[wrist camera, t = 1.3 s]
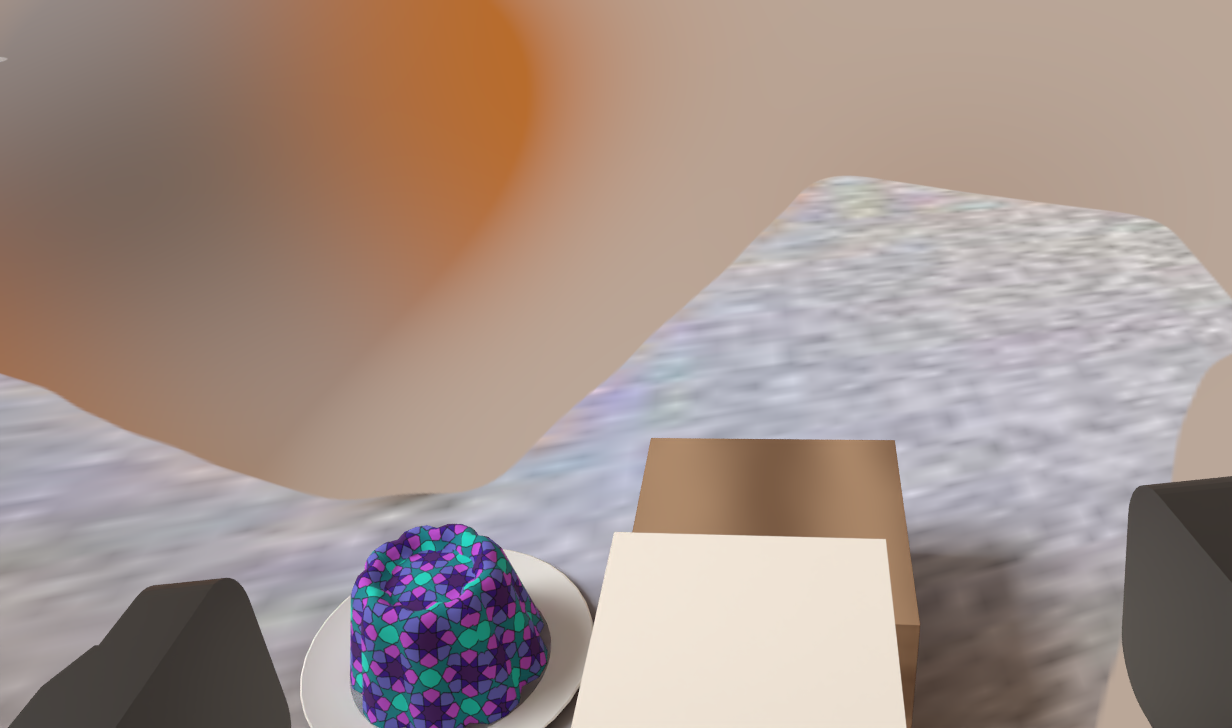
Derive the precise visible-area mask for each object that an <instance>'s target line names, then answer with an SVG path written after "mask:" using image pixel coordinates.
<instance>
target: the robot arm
mask: <svg viewBox="0 0 1232 728" xmlns="http://www.w3.org/2000/svg"><path fill="white" fill-rule="evenodd" d="M1122 644H1123V652H1124V658H1125V664H1126V668H1127V672H1128V676H1129V679H1130V682H1131V686H1132V688H1133V691H1134V694H1135V696H1136V698H1137V701H1138V703H1139V705H1140V707H1141V709H1142V710H1143V712H1144V714H1145V716H1146V717H1147V719H1148V721H1149V722H1150V724H1151V726H1152V728H1232V476H1230V477H1221V478H1210V479H1202V480H1191V481H1181V482H1172V483H1162V484H1152V485H1143V486H1139V487H1138V488H1136V489H1135V491H1134V492H1133V494H1132V497H1131V500H1130V504H1129V513H1128V529H1127V547H1126V565H1125V583H1124V602H1123V620H1122ZM8 728H291V720H290V713H289V708H288V704H287V701H286V698H285V695H284V693H283V690H282V687H281V685H280V682H279V679H278V676H277V674H276V671H275V668H274V666H273V663H272V660H271V657H270V655H269V652H268V649H267V646H266V644H265V641H264V638H263V636H262V633H261V630H260V627H259V625H258V622H257V619H256V617H255V614H254V611H253V608H252V606H251V603H250V600H249V598H248V596H247V593H246V592H245V590H244V588H243V587H242V586H241V585H240V584H239V583H238V582H237V581H236V580H234V579H231V578H221V579H211V580H202V581H192V582H182V583H173V584H163V585H153V586H150V587H147V588H146V589H145V590H143V591H142V592H141V593H140V594H139V595H138V596H137V597H136V598H135V600H134V601H133V602H132V604H131V605H130V606H129V607H128V609H127V610H126V611H125V612H124V614H123V615H122V616H121V618H120V619H119V620H118V621H117V623H116V624H115V625H114V626H113V628H112V629H111V630H110V632H109V633H108V634H107V635H106V637H105V638H104V639H103V641H102V642H101V643H100V644H99V645H97V646H93V647H92V648H91V649H89V650H88V651H87V652H86V653H84V654H83V655H82V656H80V657H79V658H78V659H77V660H75V661H74V662H73V663H71V664H70V665H69V666H68V667H66V668H65V669H64V670H62V671H61V672H60V673H59V674H57V675H56V676H55V677H53V678H52V679H51V680H50V681H48V682H47V683H46V684H45V685H43V686H42V687H41V688H40V689H39V690H38V692H37V693H36V694H35V695H34V696H33V698H32V699H31V700H30V701H29V703H28V704H27V705H26V706H25V708H24V709H23V710H22V711H21V712H20V714H19V715H18V716H17V717H16V719H15V720H14V721H13V722H12V723H11V725H10V726H9V727H8Z"/></svg>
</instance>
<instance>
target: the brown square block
mask: <svg viewBox="0 0 1232 728" xmlns="http://www.w3.org/2000/svg"><path fill="white" fill-rule="evenodd" d="M632 533H669V534H707V535H746V536H784V537H823V538H861V539H886V546H887V555H888V564H889V573H890V582H891V592H892V601H893V610H894V619H895V628H896V637H897V646H898V655H899V664H900V673H901V683H902V692H903V701H904V710H905V719H906V728H911V726H912V714H913V703H914V691H915V679H916V667H917V655H918V644H919V632H920V621H919V614H918V607H917V599H916V592H915V585H914V577H913V570H912V563H911V556H910V548H909V541H908V534H907V526H906V519H905V512H904V505H903V497H902V490H901V483H900V475H899V468H898V461H897V454H896V446H895V440H799V439H685V438H651V441H650V446H649V451H648V456H647V461H646V466H645V471H644V476H643V481H642V486H641V491H640V496H639V501H638V506H637V511H636V516H635V521H634V526H633V532H632Z"/></svg>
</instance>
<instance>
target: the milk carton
mask: <svg viewBox="0 0 1232 728" xmlns="http://www.w3.org/2000/svg"><path fill="white" fill-rule="evenodd" d="M571 728H906V719H905V710H904V701H903V692H902V683H901V673H900V664H899V655H898V646H897V637H896V628H895V619H894V610H893V601H892V592H891V582H890V573H889V564H888V555H887V546H886V539H861V538H823V537H784V536H746V535H707V534H669V533H631V532H614V535H613V540H612V545H611V549H610V554H609V558H608V563H607V567H606V572H605V576H604V581H603V585H602V590H601V594H600V599H599V603H598V608H597V612H596V617H595V621H594V626H593V630H592V635H591V639H590V644H589V649H588V653H587V658H586V662H585V667H584V671H583V676H582V680H581V685H580V689H579V694H578V698H577V703H576V707H575V712H574V716H573V721H572V725H571Z"/></svg>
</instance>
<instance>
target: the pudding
mask: <svg viewBox="0 0 1232 728" xmlns="http://www.w3.org/2000/svg"><path fill="white" fill-rule="evenodd" d="M536 607H537V608H536ZM537 609H538V610H539V611H540V612H541V613H542V615H543V617H544V619H545V620H546V622H547V624H548V628H549V632H550V635H551V653H550V658H549V663H548V666H547V668H546V670H545V673H544V675H543V677H542V679H541V681H540V682H539V684H538V685H537V687H536V688H535V690H534V691H533V692H532V694H531V695H530V696H529V697H528V698H527V699H526V700H525V701H524V702H523V703H522V704H521V705H520V706H519V707H518V708H516V709H515V710H514V711H513V712H511V713H510V714H509V715H508V716H506V715H507V714H508V713H509V712H510V711H511V710H512V709H513V708H515V707H516V706H517V705H518V704H519V701H520V694H521V688H522V686H524V685H526V684H527V683H529V682H531V681H533V680H535V679H536V678H538V677H539V676H540V675H541V673H542V671H543V669H544V668H545V666H546V664H547V648H546V646H545V644H544V643H543V641H542V639H541V637H540V635H539V634H540V632H541V630H542V628H543V626H544V624H543V621H542V618H541V615H540V613H539V611H538V610H537ZM592 630H593V621H592V617H591V614H590V611H589V608H588V605H587V602H586V601H585V599H584V597H583V596H582V594H581V593H580V591H579V589H578V588H577V587H576V586H575V585H574V583H573V582H572V581H571V580H570V579H569V578H568V577H567V576H566V575H565V574H563V573H562V572H560V571H559V570H557V569H556V568H555V567H553V566H552V565H550V564H549V563H546V562H544V561H542V560H540V559H537V558H535V557H533V556H530V555H527V554H523V553H519V552H515V551H512V550H504V549H502V548H501V547H500V546H499V545H498V544H496V543H495V542H494V541H493V540H491V539H490V538H489V537H486V536H479V535H478V534H477V532H476V531H475V530H474V529H472V528H471V527H468V526H466V525H463V524H447V525H444V526H441V527H439V528H435V527H431V526H427V525H426V526H420V527H415V528H413V529H410V530H408V531H406V532H404V533H403V534H402V535H401V537H400V538H399V539H398V540H395V541H391V542H387V543H384V544H383V545H381V546H380V547H378V548H377V549H376V550H374V551H373V552H372V554H371V555H370V556H369V557H368V559H367V561H366V563H365V571H363V572H362V573H361V574H360V575H359V576H358V577H357V579H356V582H355V584H354V587H353V590H352V593H351V596H349V597H348V598H347V599H346V600H345V601H343V602H342V603H341V604H340V605H339V606H338V608H337V609H336V610H335V611H334V612H333V613H332V614H331V615H330V616H329V617H328V619H327V620H326V621H325V623H324V624H323V625H322V627H321V628H320V630H319V631H318V633H317V634H316V636H315V637H314V639H313V641H312V644H311V646H310V648H309V650H308V652H307V655H306V657H305V661H304V665H303V669H302V673H301V680H300V698H301V702H302V707H303V711H304V715H305V718H306V720H307V721H308V723H309V725H310V727H311V728H377V727H379V728H401V727H407V728H464V727H465V726H466V725H467V724H469V723H481V724H490V723H492V722H494V721H496V720H498V719H500V718H502V717H504V716H506V717H505V718H503V719H501V720H500V721H498V722H496V723H495V724H493V725H491V726H489V727H487V728H545V727H546V726H547V725H548V724H549V723H551V722H552V721H553V720H554V719H555V718H556V717H557V716H558V715H559V713H560V712H561V711H562V710H563V709H564V708H565V706H566V705H567V704H568V703H569V702H570V701H571V699H572V698H573V696H574V694H575V693H576V691H577V689H578V688H579V686H580V684H581V680H582V676H583V671H584V667H585V662H586V658H587V653H588V649H589V644H590V639H591V635H592ZM350 678H351V683H352V688H353V689H354V690H356V691H358V692H360V693H361V694H363V713H364V714H365V716H366V717H367V719H368V720H369V721H368V720H367V719H366V718H365V717H364V716H363V715H362V714H361V713H360V711H359V710H358V708H357V706H356V705H355V703H354V700H353V697H352V693H351V690H350ZM372 724H373V725H372ZM374 725H375V726H377V727H375V726H374Z"/></svg>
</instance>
